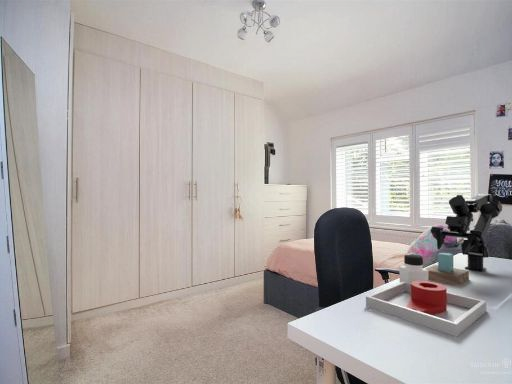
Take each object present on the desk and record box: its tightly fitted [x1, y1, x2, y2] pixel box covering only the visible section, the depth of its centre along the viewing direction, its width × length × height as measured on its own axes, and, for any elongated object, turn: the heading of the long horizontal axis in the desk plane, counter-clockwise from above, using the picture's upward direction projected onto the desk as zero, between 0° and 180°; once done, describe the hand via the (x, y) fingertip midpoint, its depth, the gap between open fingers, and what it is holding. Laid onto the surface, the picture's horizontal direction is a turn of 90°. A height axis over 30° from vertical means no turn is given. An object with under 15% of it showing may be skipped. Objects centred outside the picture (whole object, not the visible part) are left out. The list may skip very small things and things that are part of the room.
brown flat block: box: [425, 264, 470, 287], centre depth 114 cm, size 12×12×4 cm
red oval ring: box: [405, 280, 448, 316], centre depth 85 cm, size 18×9×7 cm, turn 131°
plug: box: [437, 251, 454, 272], centre depth 114 cm, size 4×4×10 cm
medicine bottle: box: [399, 253, 430, 283], centre depth 106 cm, size 7×7×12 cm
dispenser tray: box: [365, 282, 487, 338], centre depth 86 cm, size 24×24×3 cm
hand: (450, 250), depth 117 cm, fingers open, 9 cm apart
